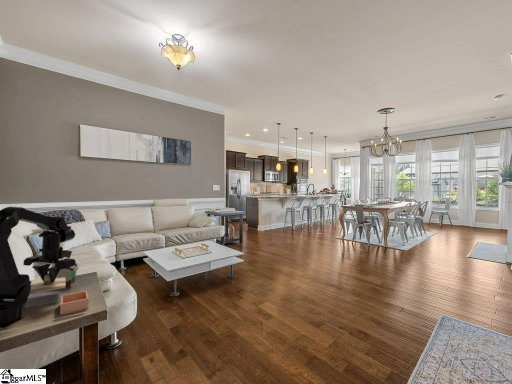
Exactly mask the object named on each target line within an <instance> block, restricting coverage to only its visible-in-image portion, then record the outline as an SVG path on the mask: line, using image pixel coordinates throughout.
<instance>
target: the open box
mask: <svg viewBox="0 0 512 384" xmlns="http://www.w3.org/2000/svg"><path fill="white" fill-rule="evenodd" d="M89 301H90V298H89V294H88V290H82V291H78V292H73V293H67V294H66V295H61V301H60V305H59V306H60V308H59V309H60V310H59V313H60V314H59V315H64V314H65V315H66V314H70V313H74V312H78V311H82V310H86V309H89Z"/></svg>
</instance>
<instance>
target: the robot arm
mask: <svg viewBox="0 0 512 384" xmlns="http://www.w3.org/2000/svg"><path fill="white" fill-rule="evenodd" d="M20 221H22V222H25V223H29V224H33V225H36V227H37V228H39V229H41V230H43V231H42V232H41V233H40V234H38V237H39V238H42V240H41V243H42V244H41V248H39V249H38V252H40V253H41V254H40V255H38V254H37V255H32V256H29V257H26V258H25V259H23V266H26V267H27V266H28V267H29V266H31V265H32V264H33V266H32V268H31V269H34V270H35V272H36V273H37V274H38V276H39V277H40V279H41V280H43V282H44V275H45V274H47V273H49V277H50V281H51V283H53V282H54V281H55V279H56V277H57V275H58V273H59V271H60V270H61V269H66V268H69V267H71V266H74V265H75V263H77V262H76V259H74V258H71V256H72V253H73V250H64V248H63V247H64V246H61V244H62V243H65V242H69V241H71V240H73V239H74V238H75V236H76V232H75V230H74V229H72V226H71V225H68V224H67V222H66V220H65V218H64V217H63V216H55V215H45V214H42V213H39V212H35V211H33V210H29V209H26V208H24V207H21V206H7V207H6V206H5V207H4V208H2V209H0V329H4V328H7V327H9V326H11V325H12V324H15V323H17V322H19V321H21V320H23V319H25V317H24V316H22V314H23V305H25V303H26V302H27V299H28V296H29V295H30V294H29V293H30V290H31V284H32V282H33V281H31V279H30V276H29V274H27V273H26V274H25V273H21V274H20V273H19V270H18V269H19V268H18V267H17V263H16V260H15V258H14V255H13V253H12V249H11V247H10V243H9V238H10V236H11V234H12V229H13V228H15V227H16V226H18V224H19V222H20ZM52 265H53V267H50V266H52Z"/></svg>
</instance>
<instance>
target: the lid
mask: <svg viewBox="0 0 512 384" xmlns="http://www.w3.org/2000/svg"><path fill="white" fill-rule="evenodd" d="M31 282H32V283H31V284H30V285H31V290H30V293H29V295H32V294H37V293H43V292H49V291H55V290H61V289H66V287H67V286H66V281H65V277H61V278H56V279H55V281H54V282H53V283H51V281H50V277H49V272H48V273H47V274H45V275H44V282H43V280H42V279H41V280H35V281H31Z"/></svg>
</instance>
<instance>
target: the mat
mask: <svg viewBox="0 0 512 384" xmlns="http://www.w3.org/2000/svg"><path fill="white" fill-rule="evenodd" d="M66 294H68V288H67V287H65V288H61V289H55V290H50V291H44V292H38V293H32V294H29V296H28V299H27V302H26V303H24V306H23V309H29V308H33V307H39V306H44V305H47V304H48V305H49V304H53V303H58V302H61V295H66Z"/></svg>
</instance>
